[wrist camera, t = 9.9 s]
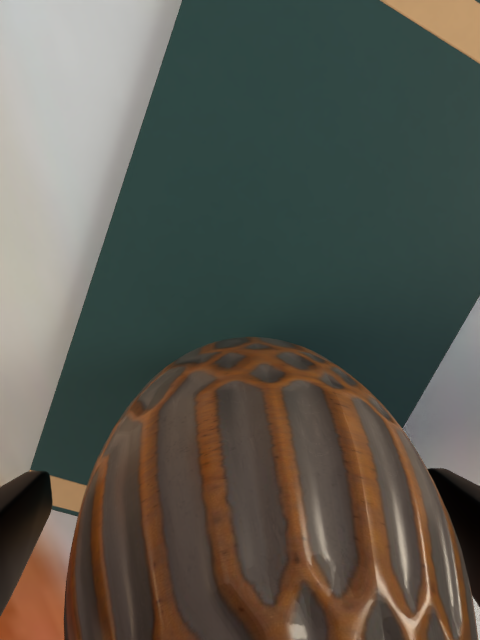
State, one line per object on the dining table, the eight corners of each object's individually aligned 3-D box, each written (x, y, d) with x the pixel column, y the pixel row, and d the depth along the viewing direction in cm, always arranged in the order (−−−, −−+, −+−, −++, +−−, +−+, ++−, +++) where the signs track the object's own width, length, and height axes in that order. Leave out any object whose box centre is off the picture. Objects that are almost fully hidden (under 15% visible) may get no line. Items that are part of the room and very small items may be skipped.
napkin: (592, 84, 9) (606, 78, 8) (312, 571, 12) (315, 580, 12) (236, -155, 7) (237, -174, 7) (25, 494, 10) (18, 501, 10)
